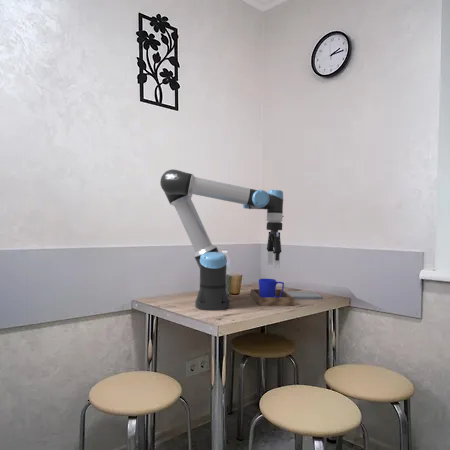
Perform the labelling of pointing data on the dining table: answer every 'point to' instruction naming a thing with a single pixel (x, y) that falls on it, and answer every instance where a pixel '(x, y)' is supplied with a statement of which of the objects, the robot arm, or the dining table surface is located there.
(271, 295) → the mug
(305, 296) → the board
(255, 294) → the crate
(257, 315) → the dining table surface
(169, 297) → the dining table surface
